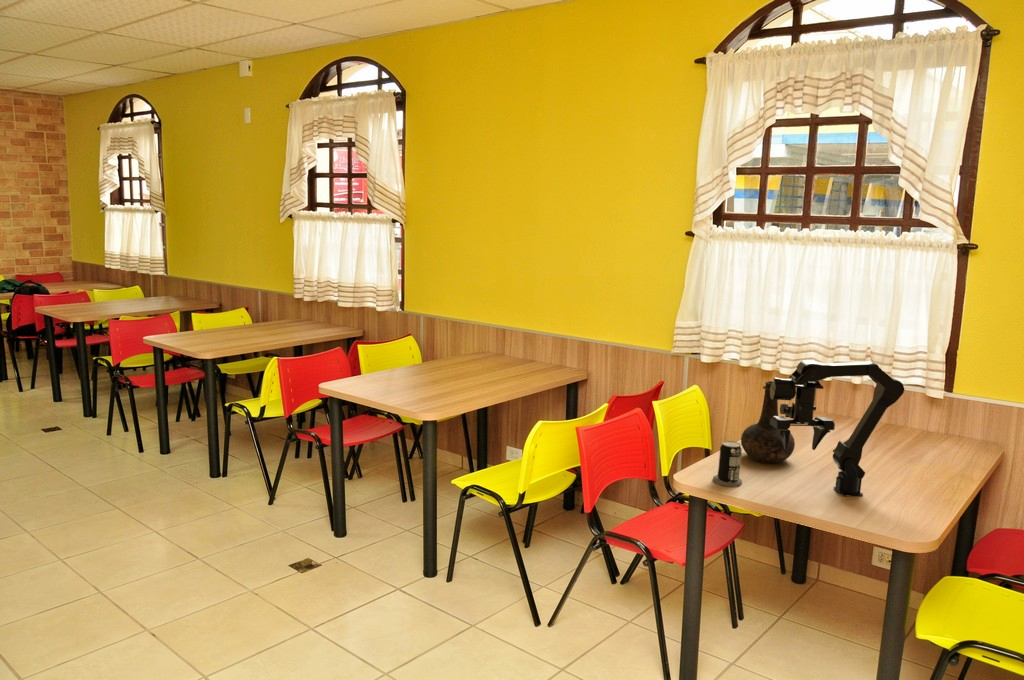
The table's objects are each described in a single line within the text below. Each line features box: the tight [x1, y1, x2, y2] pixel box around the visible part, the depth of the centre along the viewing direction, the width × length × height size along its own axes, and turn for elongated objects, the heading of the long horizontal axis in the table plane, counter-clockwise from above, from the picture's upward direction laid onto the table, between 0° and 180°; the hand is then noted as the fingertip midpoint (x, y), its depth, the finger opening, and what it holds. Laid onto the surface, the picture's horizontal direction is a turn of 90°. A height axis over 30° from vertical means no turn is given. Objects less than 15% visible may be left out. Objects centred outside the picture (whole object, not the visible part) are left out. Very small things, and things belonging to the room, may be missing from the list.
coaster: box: [712, 474, 743, 487], centre depth 247 cm, size 9×9×1 cm
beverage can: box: [717, 440, 743, 483], centre depth 246 cm, size 7×7×12 cm
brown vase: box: [740, 380, 796, 464], centre depth 270 cm, size 18×18×28 cm
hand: (799, 449), depth 241 cm, fingers open, 9 cm apart
